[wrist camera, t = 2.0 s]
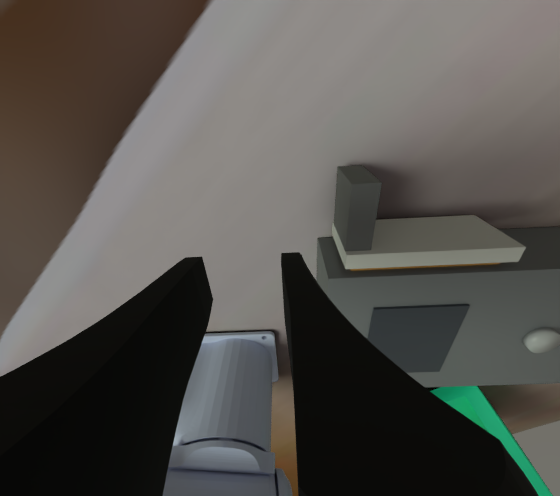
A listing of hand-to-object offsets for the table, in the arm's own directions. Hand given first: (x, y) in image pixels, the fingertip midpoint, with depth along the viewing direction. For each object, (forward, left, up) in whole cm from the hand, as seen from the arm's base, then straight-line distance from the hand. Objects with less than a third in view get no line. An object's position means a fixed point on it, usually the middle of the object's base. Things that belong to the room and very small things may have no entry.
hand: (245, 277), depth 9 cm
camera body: (+14, -10, -9) cm, 20 cm away
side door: (+10, -1, -9) cm, 13 cm away
